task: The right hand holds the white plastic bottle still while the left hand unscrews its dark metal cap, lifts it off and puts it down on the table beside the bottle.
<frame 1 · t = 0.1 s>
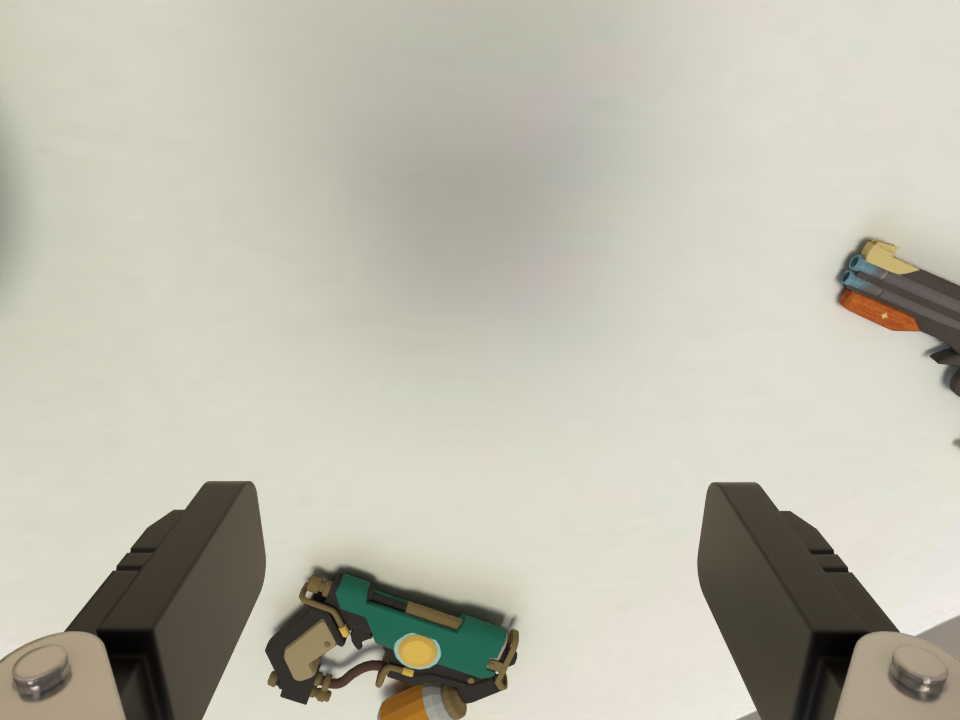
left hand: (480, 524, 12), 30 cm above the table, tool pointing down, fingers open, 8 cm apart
toy gun: (942, 358, 42), on the table
spray gun: (391, 638, 50), on the table
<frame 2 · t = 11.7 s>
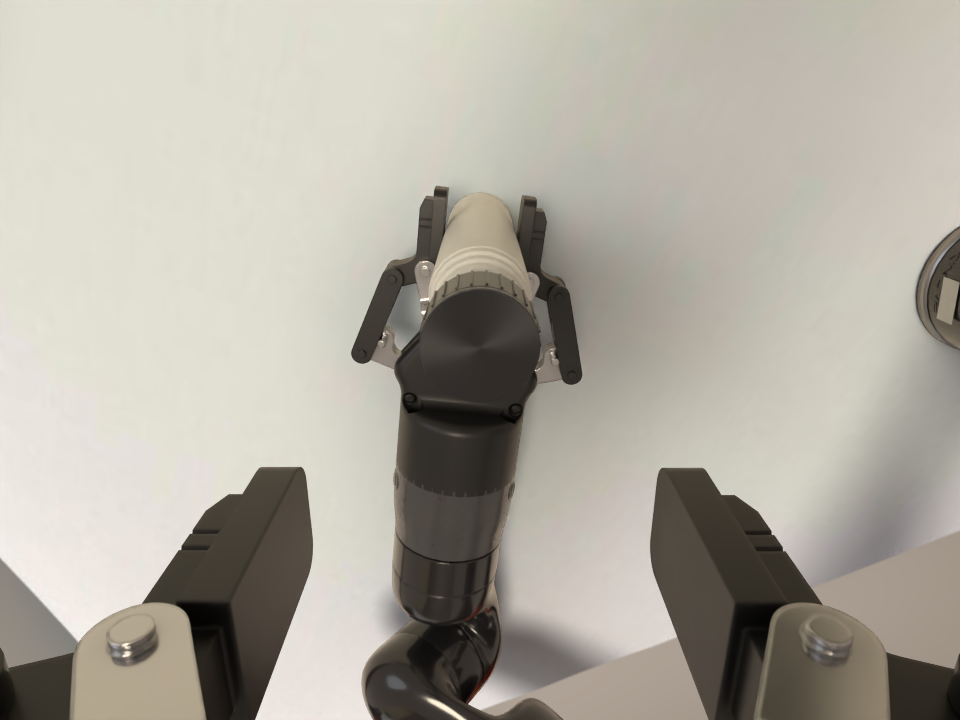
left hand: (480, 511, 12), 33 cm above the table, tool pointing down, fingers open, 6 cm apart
right hand: (486, 194, 35), fingers closed on bottle, 4 cm apart
bottle: (480, 224, 43), on the table, touching right hand
cap: (479, 344, 21), point 24 cm above the table, screwed on, not yet turned
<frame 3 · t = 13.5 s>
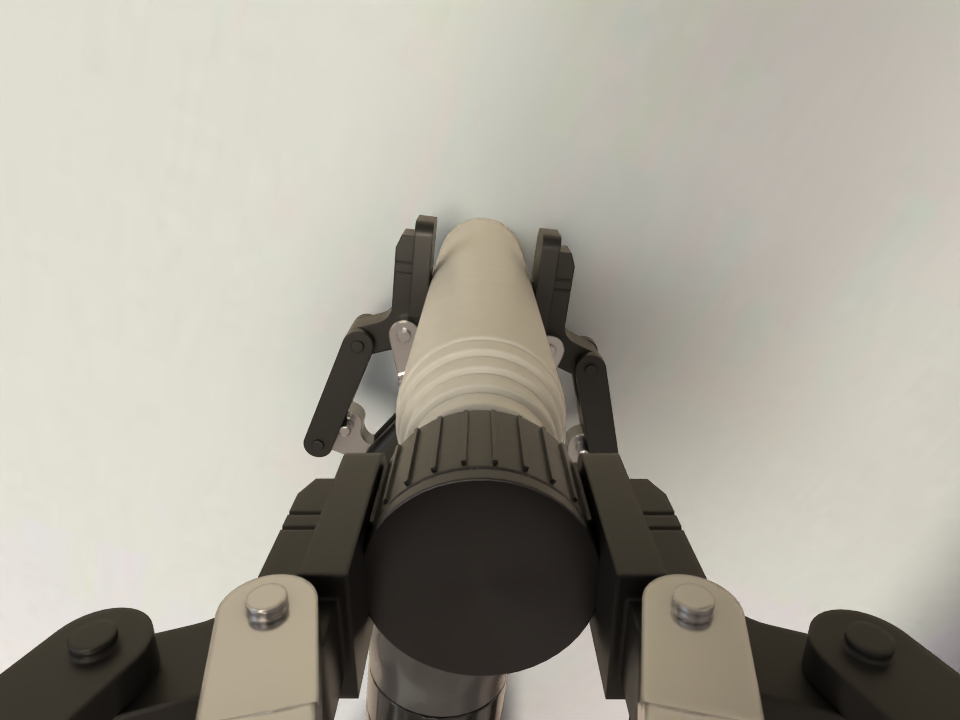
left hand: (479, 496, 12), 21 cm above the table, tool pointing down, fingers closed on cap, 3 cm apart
bottle: (480, 260, 32), on the table, touching right hand
cap: (481, 571, 10), point 24 cm above the table, screwed on, not yet turned, touching left hand
when the left hand's fingers open (1 cm above the table, at t = 40.2 s): cap drops 1 cm, point 2 cm above the table.
when the right hand's fingers open (7 cm above the table, at t = 41.4 s): bottle stays where it is, on the table.
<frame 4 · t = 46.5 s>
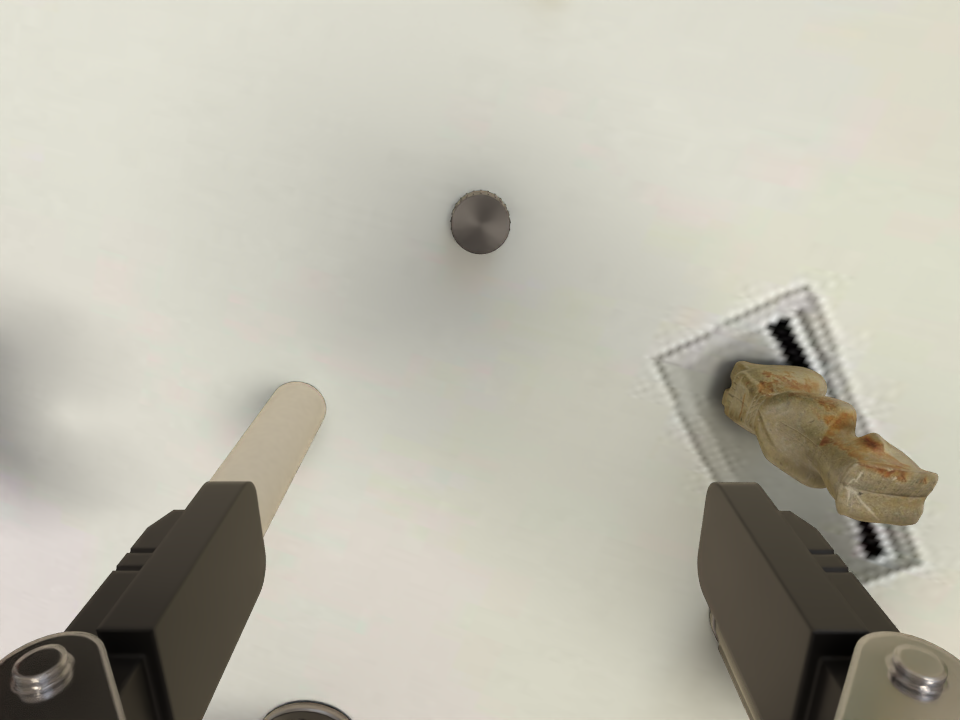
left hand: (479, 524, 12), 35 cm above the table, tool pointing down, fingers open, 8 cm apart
sculpture: (761, 384, 48), on the table
bottle: (298, 406, 49), on the table
cap: (480, 224, 42), point 2 cm above the table, off its thread
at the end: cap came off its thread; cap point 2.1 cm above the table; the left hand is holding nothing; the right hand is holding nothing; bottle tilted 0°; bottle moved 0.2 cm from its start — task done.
